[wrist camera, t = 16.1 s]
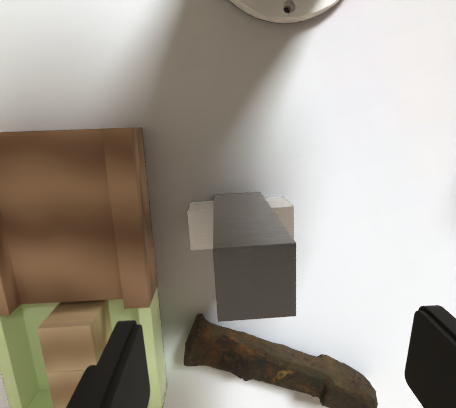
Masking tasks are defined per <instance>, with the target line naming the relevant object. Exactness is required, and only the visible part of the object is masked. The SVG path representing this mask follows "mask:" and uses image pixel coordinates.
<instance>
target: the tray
mask: <svg viewBox="0 0 456 408" xmlns="http://www.w3.org/2000/svg"><path fill="white" fill-rule="evenodd" d="M59 303H60V302H56V303H37V304H21V305H20V306H19V307H17V308H16V309H15V310H14V311H13V312H12V313H11V314H10V315H0V371H1V375H2V379H3V383H4V386H5V390H6V394H7V398H8V402H9V406H10V408H54V407H53V402H52V398H51V393H50V388H49V383H48V378H47V374H46V368H45V364H44V359H43V354H42V350H41V345H40V341H39V336H38V331H37V328H38V327H39V326H40V325H41V323H42V322H43V321H44V320H45V319H46V318H47V317H48V315H49V314H50V313H51V312H52V311H53V310H54V309H55V308H56V306H57V305H58V304H59ZM108 305H109V312H110V318H111V325H112V331H113V329H114V327H115V325H116V323H117V322H118V321H127V320H135V321H136V323H137V325H138V324H141V325H142V329H143V336H144V344H145V351H146V359H147V367H148V374H149V382H150V398H149V403H148V407H147V408H163V405H164V400H165V394H166V389H167V379H166V369H165V359H164V349H163V338H162V328H161V318H160V308H159V298H158V287H157V288H156V291H155V294H154V296H153V299H152V302H151V305H150V307H149V308H130V309H124V302H123V299H114V300H108Z"/></svg>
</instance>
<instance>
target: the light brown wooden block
mask: <svg viewBox="0 0 456 408" xmlns="http://www.w3.org/2000/svg"><path fill="white" fill-rule="evenodd" d="M84 371H85V370H78V371H62V372H47V373H46V374H47V378H48V383H49V388H50V393H51V398H52V402H53V407H54V408H66V407H67V405H68V403H69V401H70V399H71V397H72V395H73V393H74V391H75V389H76V387H77V385H78V383H79V381H80V379H81V377H82V375H83V373H84Z"/></svg>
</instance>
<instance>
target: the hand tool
mask: <svg viewBox="0 0 456 408" xmlns="http://www.w3.org/2000/svg"><path fill="white" fill-rule="evenodd" d="M184 365H185V366H198V365H207V366H210V367H213V368H216V369H220V370H225V371H228V372H231V373H233V374H234V375H236V376H238V377H239V378H243V379H244V381H248V380H251V379H255V380H258V381H263V382H266V383H270V384H274V385H277V386H280V387H284V388H288V389H291V390H296V391H298V392H303V393H307V394H310V395H312V396H313V397H315V396H316V397H319V399H320V402H321V404H322V405H323V406H326V407H329V408H377V405H378V402H377V398H376V391H375V389H374V388H373V387H372V385H371V384H370V382H369V381H368V380H367V379H366V377H364V376H363V375H362V374H361V373H359V372H358V371H356V370H354V369H353V368H351V367H349V366H348V365H346V364H344V363H341V362H339V361H337V360H335V359H333V358H331V357H329V356H327V355H322V354H321V355H320V356H318V357H316V356H312V355H309V354H306V353H303V352H300V351H297V350H294V349H292V348H289V347H287V346H284V345H281V344H276V343H272V342H269V341H266V340H263V339H260V338H258V337H255V336H253V335H249V334H247V333H245V332H238V331H235V330H232V329H229V328H225V327H221V326H218V325H215V324H212V323H210V322H208V321H207V320H206V319H205V318H204V316H203V315H202V314H198V316H197V317H196V319H195V322H194V324H193V326H192V328H191V330H190V333H189V335H188V338H187V341H186V343H185V355H184Z"/></svg>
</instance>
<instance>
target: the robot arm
mask: <svg viewBox="0 0 456 408" xmlns="http://www.w3.org/2000/svg"><path fill="white" fill-rule="evenodd" d="M230 1H231V2H232V3H233V4H235V5H236V6H237V7H239V8H240V9H241V10H243V11H244V12H246V13H248V14H250V15H252V16H254V17H256V18H258V19H262V20H266V21H270V22H274V23H293V22H298V21H304V20H307V19H310V18H312V17H315V16H317V15H320V14H322V13H323V12H325V11H326V10H328V9H329V8H331V7H332V6H334V5H335V4H336V3H337V2H338V1H339V0H230ZM284 8H288V9H289V11H290V12H289V13H286V12H285V11H284ZM405 379H406V382H407V384H408V386H409V387H410V389H411V390H412V391H413V393H414V394H415V396H416V397H417V399H418V400H419V401H420V403H421V404H422V406H423V407H424V408H456V318H454V317H453V316H452V315H451V314H450V313H449V312H448V311H446V310H445V309H444V308H443V307H441V306H439V305H435V306H421V307H420V308H419V310H418V311H416V312H415V314H414V320H413V326H412V332H411V338H410V344H409V350H408V356H407V362H406V368H405ZM149 398H150V382H149V374H148V367H147V359H146V351H145V344H144V336H143V329H142V325H141V324H138V325H137V323H136V321H135V320H127V321H118V322H117V323H116V325H115V327H114V329H113V331H112V333H111V336H110V338H109V340H108V342H107V344H106V346H105V348H104V350H103V352H102V355H101V357H100V359H99V361H98V363H97V365H89V366H88V367H87V368H86V370H85V371H84V373H83V375H82V377H81V379H80V381H79V383H78V385H77V387H76V389H75V391H74V393H73V395H72V397H71V399H70V401H69V403H68V405H67V407H66V408H147V407H148V403H149Z"/></svg>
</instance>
